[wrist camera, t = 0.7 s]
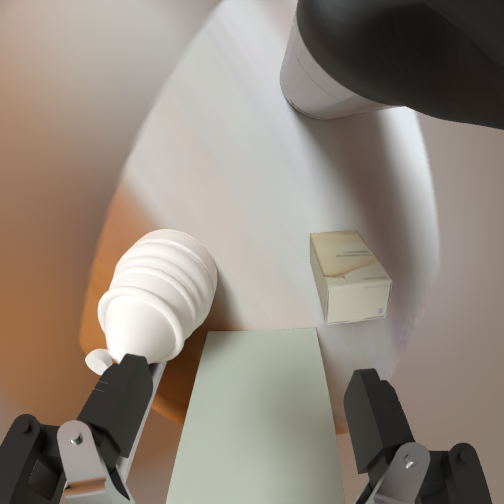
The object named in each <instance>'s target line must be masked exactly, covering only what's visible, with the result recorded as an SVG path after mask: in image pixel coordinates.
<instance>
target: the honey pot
mask: <svg viewBox="0 0 504 504" xmlns="http://www.w3.org/2000/svg"><path fill="white" fill-rule="evenodd" d="M217 283H218V275H217V268H216V265H215V263H214V260H213V258H212V256H211V255H210V253H209V252H208V250H207V249H206V248H205V247H204V246H203V245H202V244H201V243H200V242H199V241H198V240H196V239H195V238H193V237H191V236H189V235H188V234H186V233H184V232H180V231H176V230H172V229H166V230H156V231H153V232H150V233H148V234H146V235H145V236H143V237H142V238H141V239H139V240H138V241H137V242H136V243H135V244H134V245H133V246H132V247H131V248H130V249H129V250H128V251H127V252H126V253H125V254H124V255H123V256H122V258H121V259H120V260H119V262H118V263H117V265H116V269H115V272H114V276H113V280H112V282H111V285H110V288H109V291H107V292H106V293H105V294H104V295H103V296H102V298H101V299H100V301H99V306H98V318H99V322H100V325H101V327H102V330H103V331H104V333H105V335H106V343H107V347H108V350H106V349H96V350H93V351H92V352H90V353H89V354H88V355H87V357H86V359H85V361H86V363H87V365H88V366H89V368H90V369H91V370H93V371H94V372H95V373H97V374H99V375H102V374H103V372H104V371H105V370H106V369H107V368H109V367H110V366H111V365H112V359H114V361H115V362H116V363H118V364H120V362H121V360H122V358H123V357H124V355H125V354H126V353H129V354H134V355H140V356H144V357H146V359H147V363H148V364H150V363H158V362H165V361H168V360H171V359H173V358H174V357H176V356H177V355H178V354H179V353H180V351H181V350H182V348H183V346H184V341H185V340H186V339H187V338H188V337H189V336H190V335H191V334H192V332H193V331H194V330H195V329H196V328H197V327H199V326H200V325H201V324H202V323H203V322H204V320H205V318H206V317H207V315H208V314H209V312H210V308H211V305H212V302H213V298H214V295H215V291H216V287H217ZM111 358H112V359H111Z"/></svg>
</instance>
